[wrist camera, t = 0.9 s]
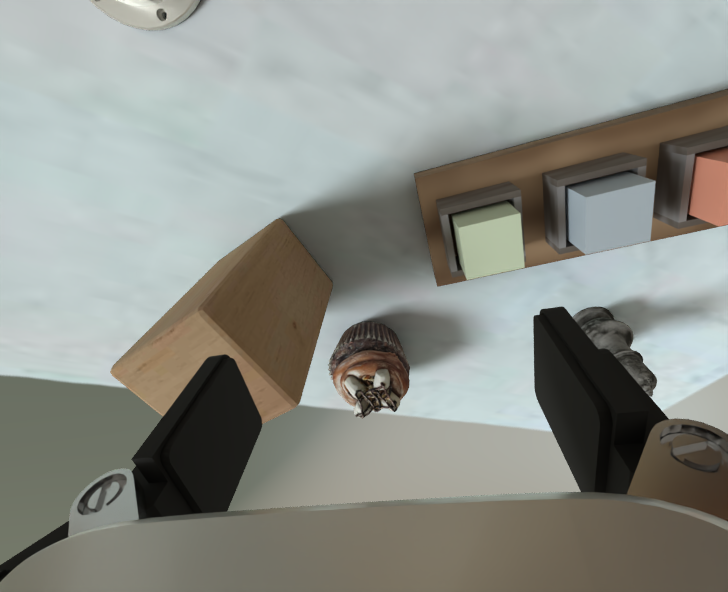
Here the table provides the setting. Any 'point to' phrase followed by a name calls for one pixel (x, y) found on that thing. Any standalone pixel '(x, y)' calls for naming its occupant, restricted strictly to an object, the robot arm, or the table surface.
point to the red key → (710, 187)
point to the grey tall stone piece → (616, 343)
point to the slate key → (609, 212)
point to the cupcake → (370, 368)
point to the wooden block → (238, 326)
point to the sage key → (489, 240)
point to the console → (575, 179)
